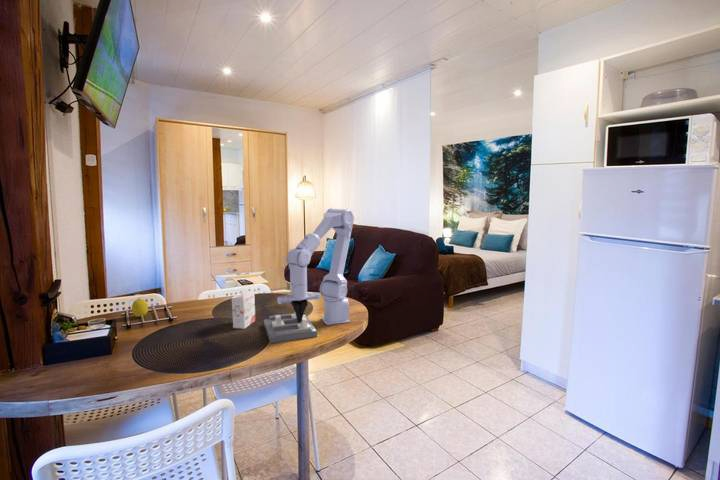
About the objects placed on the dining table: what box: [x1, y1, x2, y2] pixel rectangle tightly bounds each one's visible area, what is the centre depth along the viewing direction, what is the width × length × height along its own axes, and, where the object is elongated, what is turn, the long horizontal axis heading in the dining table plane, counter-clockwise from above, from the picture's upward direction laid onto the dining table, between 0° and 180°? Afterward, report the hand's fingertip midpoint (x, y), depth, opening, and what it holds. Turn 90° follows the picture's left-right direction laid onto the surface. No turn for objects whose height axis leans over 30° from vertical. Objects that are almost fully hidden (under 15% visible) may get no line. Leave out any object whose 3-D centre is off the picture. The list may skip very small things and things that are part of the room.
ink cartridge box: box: [231, 284, 256, 330], centre depth 133 cm, size 9×5×15 cm, turn 168°
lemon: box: [131, 297, 149, 318], centre depth 140 cm, size 6×6×8 cm
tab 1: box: [272, 314, 285, 329], centre depth 126 cm, size 4×4×4 cm
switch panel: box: [263, 313, 318, 344], centre depth 128 cm, size 16×18×3 cm
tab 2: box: [297, 317, 311, 329], centre depth 124 cm, size 4×4×4 cm
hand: (299, 321), depth 124 cm, fingers closed
